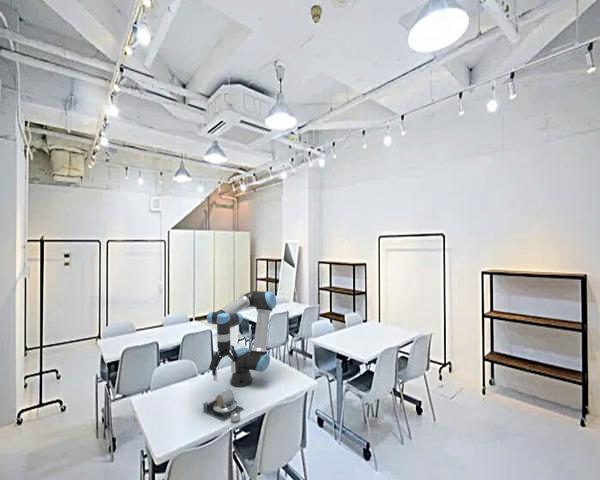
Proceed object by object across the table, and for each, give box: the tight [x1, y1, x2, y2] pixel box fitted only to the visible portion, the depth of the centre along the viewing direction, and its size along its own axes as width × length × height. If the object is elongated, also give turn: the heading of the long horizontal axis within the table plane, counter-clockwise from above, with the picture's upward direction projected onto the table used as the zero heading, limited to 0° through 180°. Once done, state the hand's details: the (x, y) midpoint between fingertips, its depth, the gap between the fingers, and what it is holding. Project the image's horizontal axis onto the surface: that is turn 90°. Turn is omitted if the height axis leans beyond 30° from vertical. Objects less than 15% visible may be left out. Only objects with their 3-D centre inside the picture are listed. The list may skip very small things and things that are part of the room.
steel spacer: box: [230, 411, 241, 424], centre depth 183 cm, size 5×5×4 cm
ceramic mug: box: [216, 389, 235, 409], centre depth 191 cm, size 11×8×8 cm
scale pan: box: [213, 399, 238, 412], centre depth 192 cm, size 14×14×3 cm
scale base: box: [202, 396, 245, 422], centre depth 193 cm, size 15×18×5 cm
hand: (224, 376), depth 192 cm, fingers open, 13 cm apart
